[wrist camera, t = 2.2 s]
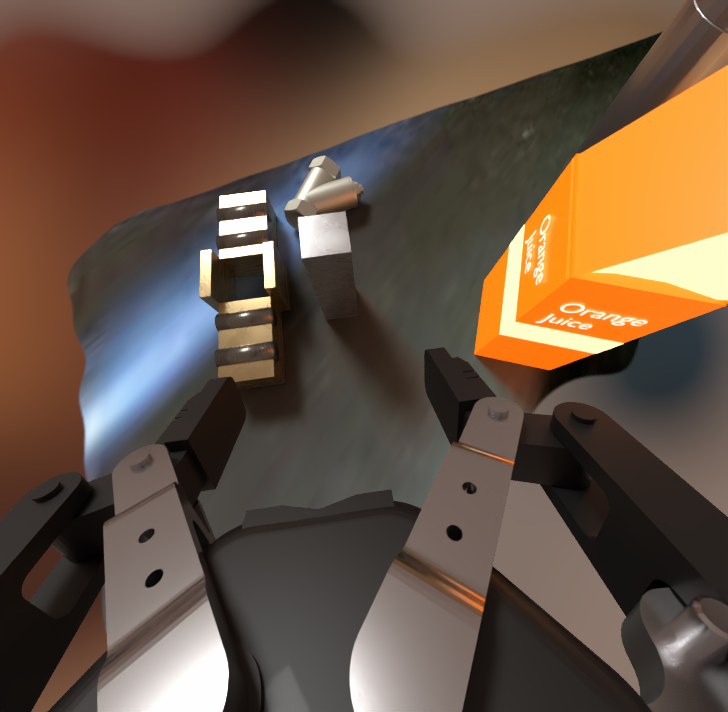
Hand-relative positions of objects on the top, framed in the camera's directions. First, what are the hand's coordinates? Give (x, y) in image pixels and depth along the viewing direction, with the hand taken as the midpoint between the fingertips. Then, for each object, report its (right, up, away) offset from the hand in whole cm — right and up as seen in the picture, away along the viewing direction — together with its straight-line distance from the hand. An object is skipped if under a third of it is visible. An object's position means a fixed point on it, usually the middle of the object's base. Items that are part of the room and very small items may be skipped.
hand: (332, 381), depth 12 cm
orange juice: (+17, +4, +18) cm, 25 cm away
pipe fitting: (-3, +19, +23) cm, 29 cm away
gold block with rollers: (-10, +8, +19) cm, 23 cm away
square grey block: (-1, +7, +19) cm, 20 cm away
